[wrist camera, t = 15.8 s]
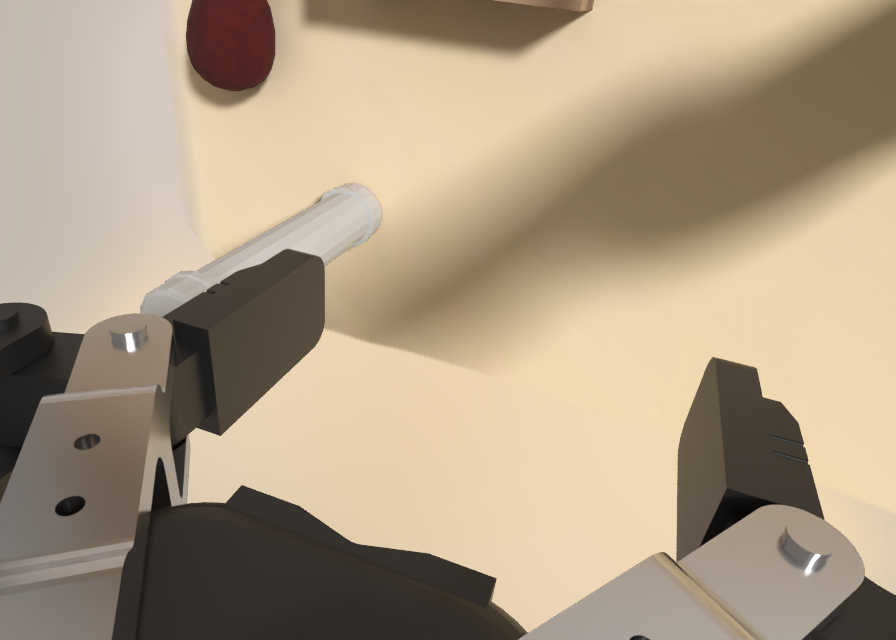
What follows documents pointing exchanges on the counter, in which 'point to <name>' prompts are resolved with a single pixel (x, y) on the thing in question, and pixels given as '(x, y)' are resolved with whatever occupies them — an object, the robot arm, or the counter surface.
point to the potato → (231, 42)
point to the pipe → (282, 244)
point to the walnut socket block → (557, 4)
